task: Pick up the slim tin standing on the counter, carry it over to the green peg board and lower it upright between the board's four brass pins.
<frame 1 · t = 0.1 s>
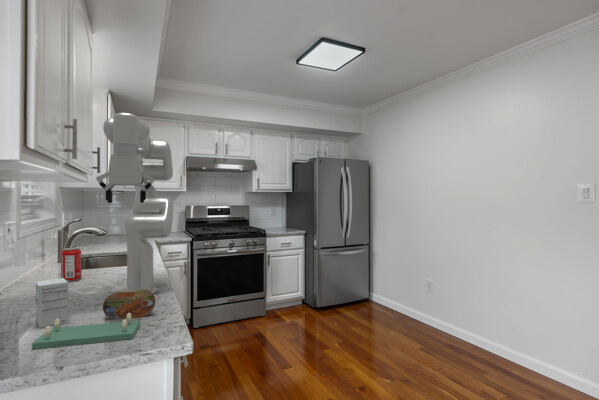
hand: (126, 202, 109), 37 cm above the countertop, tool pointing down, fingers open, 9 cm apart
supplement box: (52, 322, 101), on the countertop
green peg board: (90, 336, 90), on the countertop
tin: (130, 317, 106), on the countertop
soda can: (71, 280, 153), on the countertop
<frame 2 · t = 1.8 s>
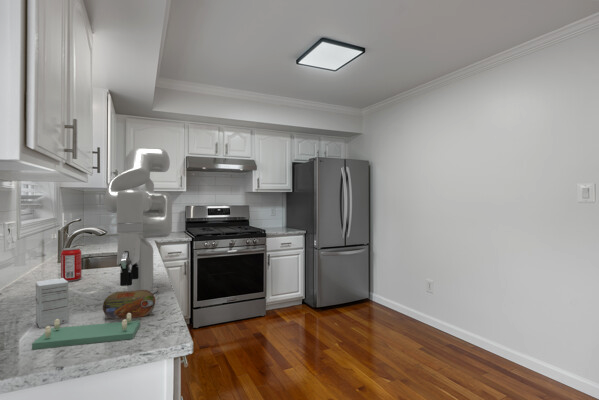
hand: (129, 282, 105), 11 cm above the countertop, tool pointing down, fingers open, 9 cm apart
nothing on the countertop moved.
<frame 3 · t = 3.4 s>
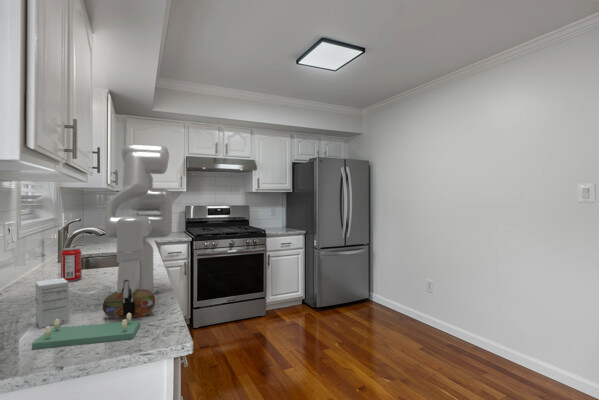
hand: (130, 312, 106), 1 cm above the countertop, tool pointing down, fingers closed on tin, 2 cm apart
tin: (130, 316, 106), on the countertop, touching gripper
everything else where it was.
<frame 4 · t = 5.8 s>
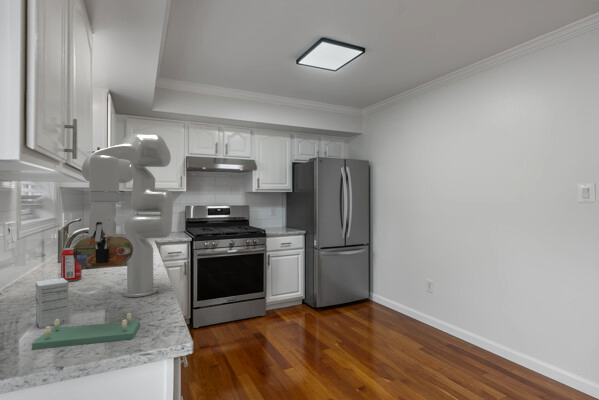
hand: (104, 261, 95), 20 cm above the countertop, tool pointing down, fingers closed on tin, 2 cm apart
tin: (104, 266, 95), point 18 cm above the countertop, touching gripper
everything else where it was.
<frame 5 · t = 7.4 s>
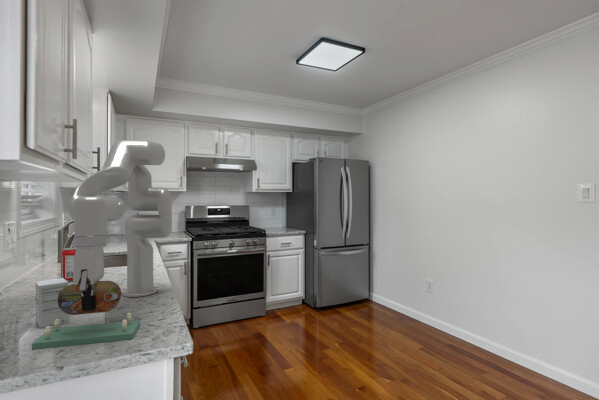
hand: (90, 307, 91), 8 cm above the countertop, tool pointing down, fingers closed on tin, 2 cm apart
tin: (91, 312, 91), point 6 cm above the countertop, touching gripper
everything else where it was.
when the fingers open (4 cm above the countertop, at t = 8.5 s): tin stays where it is, resting on green peg board.
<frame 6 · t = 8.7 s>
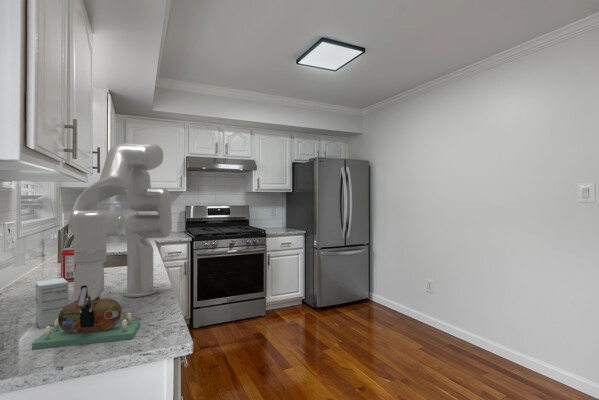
hand: (90, 322, 90), 4 cm above the countertop, tool pointing down, fingers open, 4 cm apart
tin: (91, 330, 91), point 1 cm above the countertop, touching green peg board
everything else where it was.
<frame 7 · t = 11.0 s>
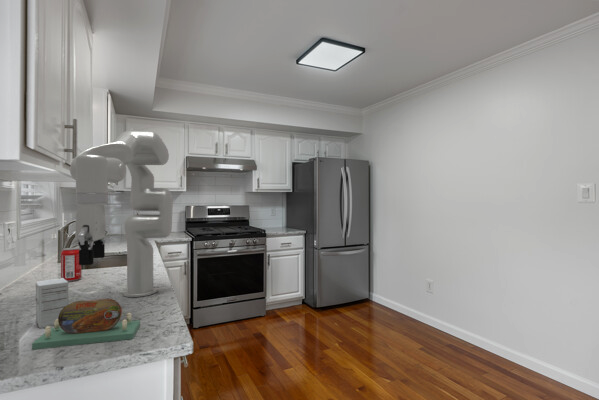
hand: (92, 261, 91), 21 cm above the countertop, tool pointing down, fingers open, 9 cm apart
nothing on the countertop moved.
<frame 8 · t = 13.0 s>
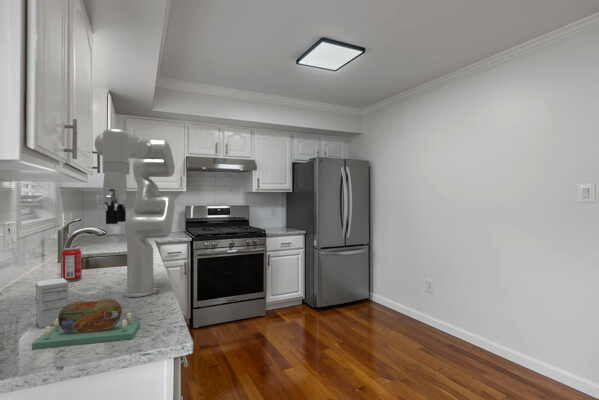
hand: (116, 222, 105), 30 cm above the countertop, tool pointing down, fingers open, 9 cm apart
nothing on the countertop moved.
at the end: tin 0.4 cm off-centre on the green peg board, point 1.3 cm above the green peg board's base; tin tilted 0°; the gripper is holding nothing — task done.
